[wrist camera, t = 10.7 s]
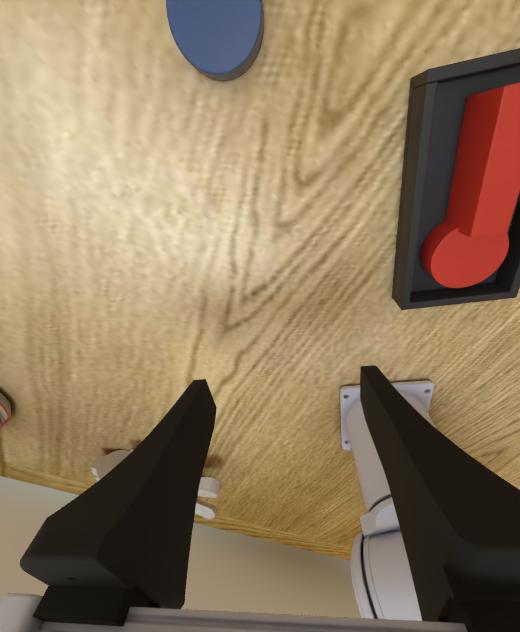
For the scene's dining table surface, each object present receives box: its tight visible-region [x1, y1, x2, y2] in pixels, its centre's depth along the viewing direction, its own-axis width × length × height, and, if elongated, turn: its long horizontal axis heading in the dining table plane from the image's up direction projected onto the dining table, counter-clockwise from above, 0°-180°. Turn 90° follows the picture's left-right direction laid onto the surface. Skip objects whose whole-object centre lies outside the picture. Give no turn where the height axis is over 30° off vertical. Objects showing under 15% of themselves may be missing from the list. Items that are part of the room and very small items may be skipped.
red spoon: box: [420, 83, 520, 288], centre depth 15 cm, size 10×4×3 cm, turn 10°
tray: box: [392, 48, 520, 310], centre depth 16 cm, size 13×7×2 cm, turn 10°
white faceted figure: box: [91, 449, 220, 519], centre depth 33 cm, size 10×5×15 cm
